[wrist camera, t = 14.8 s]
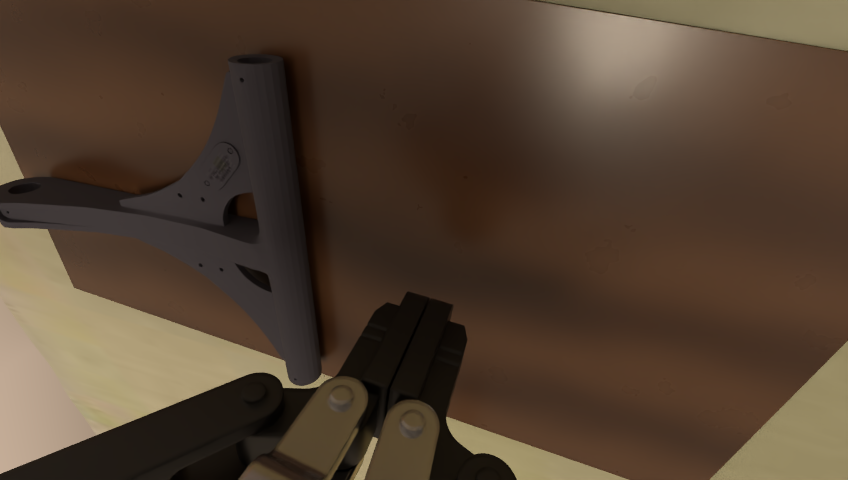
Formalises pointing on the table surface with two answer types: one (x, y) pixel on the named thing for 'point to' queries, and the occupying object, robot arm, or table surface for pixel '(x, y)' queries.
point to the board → (488, 197)
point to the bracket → (214, 212)
